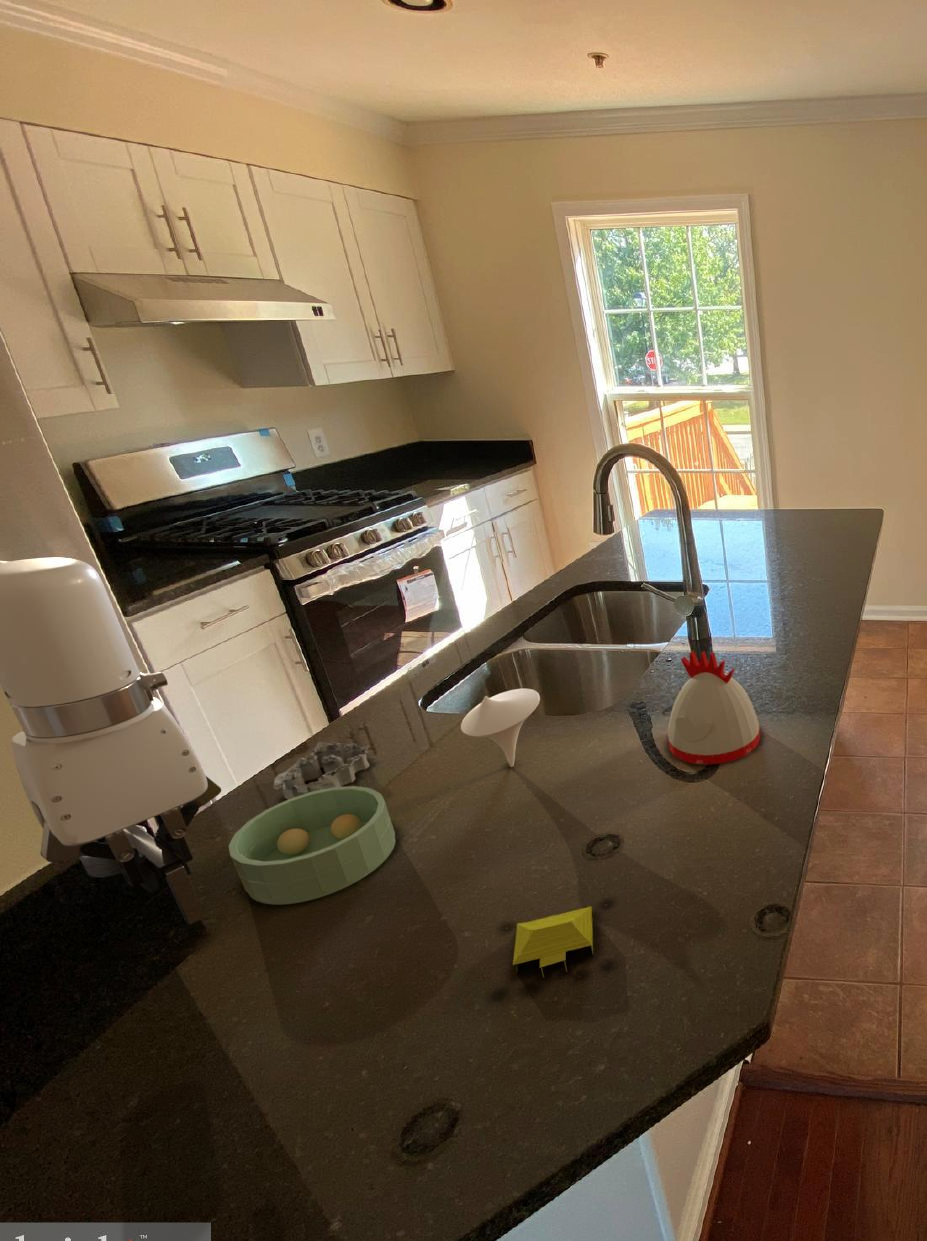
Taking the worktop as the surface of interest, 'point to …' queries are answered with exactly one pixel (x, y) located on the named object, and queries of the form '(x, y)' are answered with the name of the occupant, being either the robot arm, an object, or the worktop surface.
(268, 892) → the bowl
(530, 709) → the white spinning top
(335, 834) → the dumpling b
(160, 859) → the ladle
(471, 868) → the worktop surface
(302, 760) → the egg carton
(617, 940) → the worktop surface
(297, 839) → the orange-brown rounded ball
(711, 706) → the kitchen timer
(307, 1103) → the worktop surface
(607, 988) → the worktop surface
